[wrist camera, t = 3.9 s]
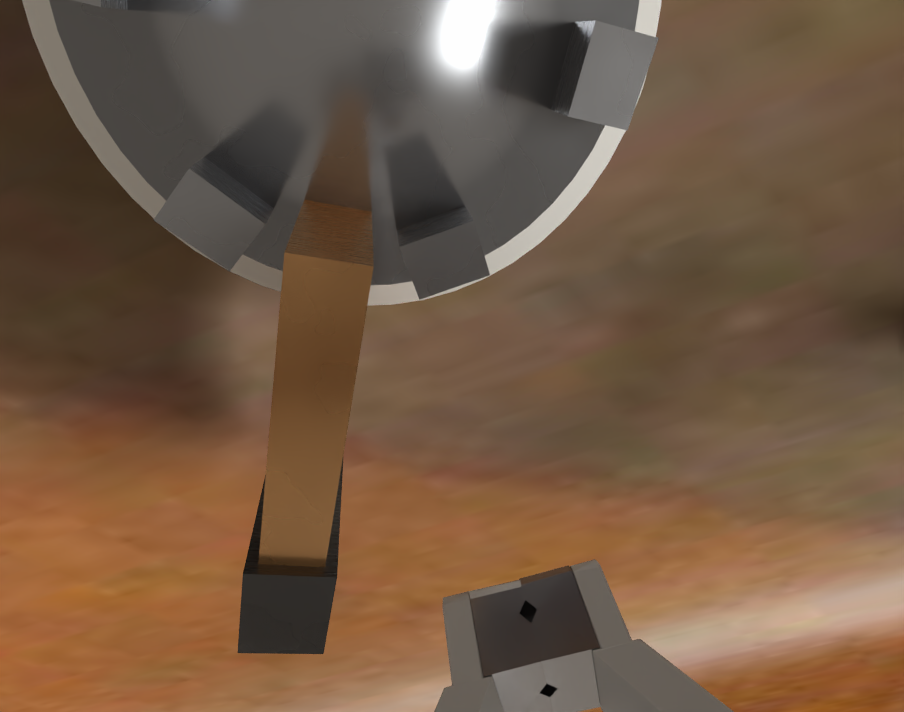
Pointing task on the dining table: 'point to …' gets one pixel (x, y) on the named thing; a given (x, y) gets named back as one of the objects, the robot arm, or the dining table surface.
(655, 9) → the white round plate
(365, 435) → the dining table surface
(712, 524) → the dining table surface
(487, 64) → the lugged steel disc
